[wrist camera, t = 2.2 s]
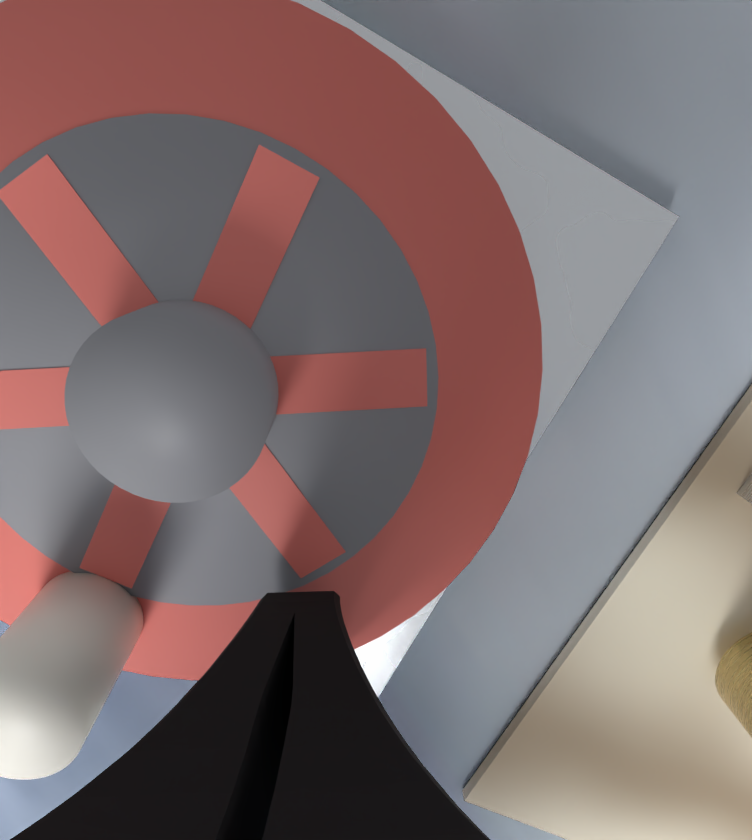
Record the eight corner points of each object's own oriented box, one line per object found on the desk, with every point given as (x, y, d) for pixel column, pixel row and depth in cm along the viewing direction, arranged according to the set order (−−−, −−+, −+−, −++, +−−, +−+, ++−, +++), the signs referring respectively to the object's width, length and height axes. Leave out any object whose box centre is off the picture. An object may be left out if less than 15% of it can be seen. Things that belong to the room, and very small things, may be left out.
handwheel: (-19, -168, 9) (-285, -449, 5) (649, 229, 11) (800, 231, 7) (-198, 503, 12) (-446, 628, 8) (349, 715, 14) (347, 892, 10)
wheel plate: (358, 715, 15) (358, 728, 14) (-200, 498, 13) (-216, 507, 12) (667, 217, 12) (679, 216, 11) (-15, -194, 9) (-31, -212, 9)
